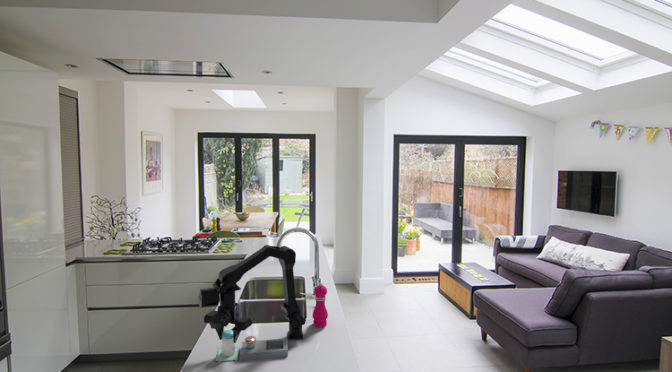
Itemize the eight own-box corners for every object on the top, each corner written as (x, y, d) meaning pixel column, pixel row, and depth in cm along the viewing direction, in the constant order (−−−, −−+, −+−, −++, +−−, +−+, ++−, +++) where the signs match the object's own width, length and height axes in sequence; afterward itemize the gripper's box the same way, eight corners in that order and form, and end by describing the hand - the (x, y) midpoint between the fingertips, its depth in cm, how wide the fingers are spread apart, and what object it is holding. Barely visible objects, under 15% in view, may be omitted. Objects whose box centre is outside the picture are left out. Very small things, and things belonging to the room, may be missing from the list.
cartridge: (218, 354, 136) (219, 333, 136) (226, 348, 141) (228, 328, 141) (229, 357, 134) (230, 336, 134) (237, 351, 139) (238, 331, 139)
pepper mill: (310, 322, 166) (310, 280, 164) (324, 319, 169) (325, 279, 167) (315, 329, 159) (316, 286, 158) (330, 326, 162) (330, 284, 161)
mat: (219, 349, 141) (219, 348, 141) (239, 347, 143) (239, 346, 143) (215, 362, 132) (215, 360, 132) (237, 360, 134) (237, 359, 134)
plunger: (245, 350, 141) (244, 336, 140) (256, 349, 142) (256, 335, 141) (244, 356, 136) (244, 342, 136) (255, 355, 137) (255, 341, 137)
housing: (242, 347, 143) (242, 341, 143) (286, 344, 146) (286, 338, 146) (240, 360, 134) (240, 353, 134) (287, 356, 137) (287, 350, 137)
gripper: (193, 306, 131) (193, 346, 133) (235, 315, 125) (235, 357, 126) (213, 295, 142) (213, 333, 143) (253, 303, 136) (253, 341, 137)
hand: (228, 341), depth 137 cm, fingers open, 6 cm apart
